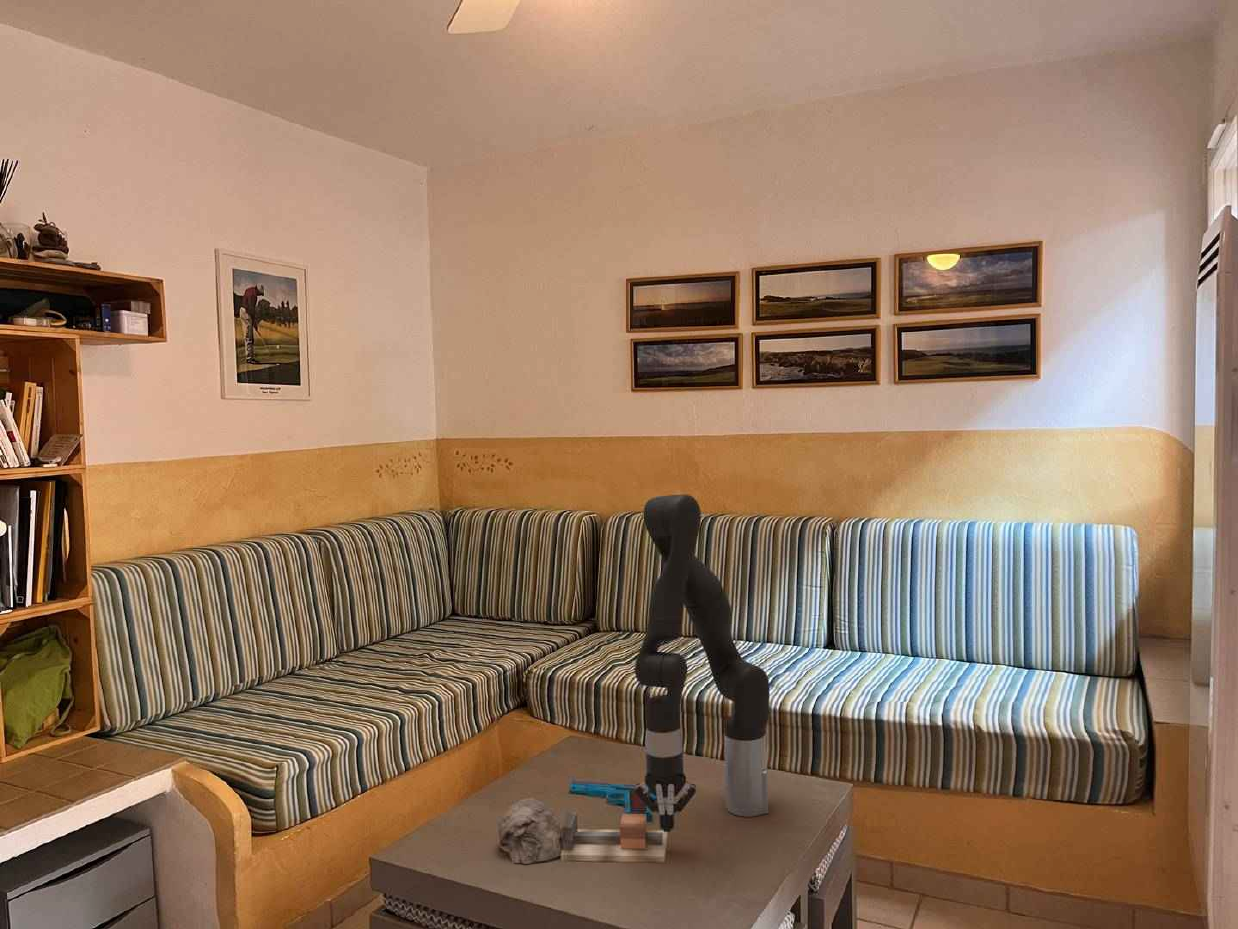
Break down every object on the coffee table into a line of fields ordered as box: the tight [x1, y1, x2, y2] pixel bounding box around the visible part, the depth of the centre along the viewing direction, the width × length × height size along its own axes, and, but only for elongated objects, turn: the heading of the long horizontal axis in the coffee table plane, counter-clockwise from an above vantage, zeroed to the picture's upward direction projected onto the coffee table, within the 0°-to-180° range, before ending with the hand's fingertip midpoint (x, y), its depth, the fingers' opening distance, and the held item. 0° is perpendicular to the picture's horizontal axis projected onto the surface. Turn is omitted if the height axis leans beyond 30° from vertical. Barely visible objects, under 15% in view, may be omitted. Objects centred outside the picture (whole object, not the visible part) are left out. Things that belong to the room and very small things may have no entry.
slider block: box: [619, 813, 648, 849], centre depth 195 cm, size 5×6×5 cm
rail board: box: [560, 811, 669, 863], centre depth 195 cm, size 21×11×6 cm, turn 84°
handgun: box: [569, 780, 658, 822], centre depth 216 cm, size 23×3×15 cm
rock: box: [497, 797, 563, 865], centre depth 195 cm, size 15×12×10 cm
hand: (667, 830), depth 194 cm, fingers closed
